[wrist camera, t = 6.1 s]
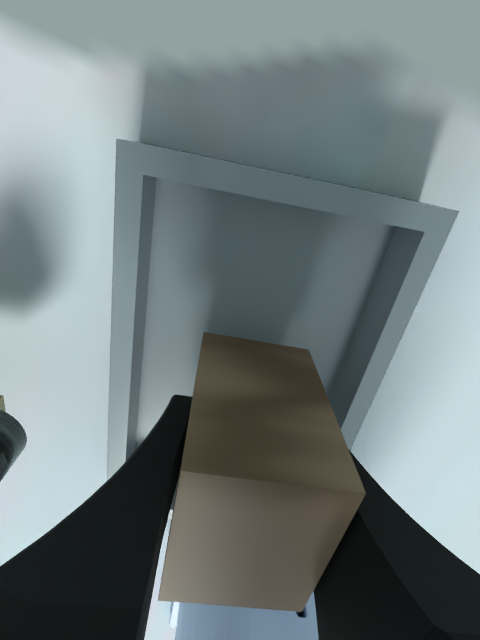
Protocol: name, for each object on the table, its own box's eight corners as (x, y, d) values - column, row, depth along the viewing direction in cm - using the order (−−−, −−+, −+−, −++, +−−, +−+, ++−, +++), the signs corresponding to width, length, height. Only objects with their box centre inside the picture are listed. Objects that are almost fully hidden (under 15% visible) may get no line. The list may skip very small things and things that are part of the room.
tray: (419, 201, 13) (459, 211, 11) (302, 491, 20) (311, 534, 18) (138, 142, 12) (116, 138, 9) (120, 470, 19) (105, 513, 17)
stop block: (308, 349, 13) (366, 493, 7) (276, 445, 15) (301, 611, 9) (203, 332, 12) (180, 470, 7) (185, 433, 14) (157, 600, 9)
